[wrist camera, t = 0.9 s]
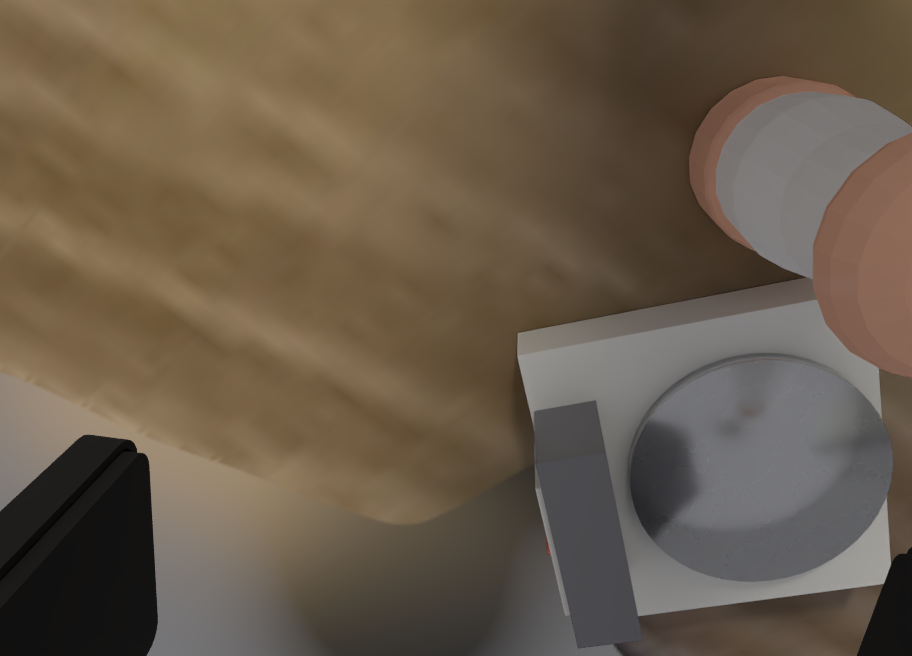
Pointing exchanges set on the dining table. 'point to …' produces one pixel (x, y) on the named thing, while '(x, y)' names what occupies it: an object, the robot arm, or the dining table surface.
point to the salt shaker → (819, 201)
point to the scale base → (611, 434)
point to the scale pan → (759, 467)
